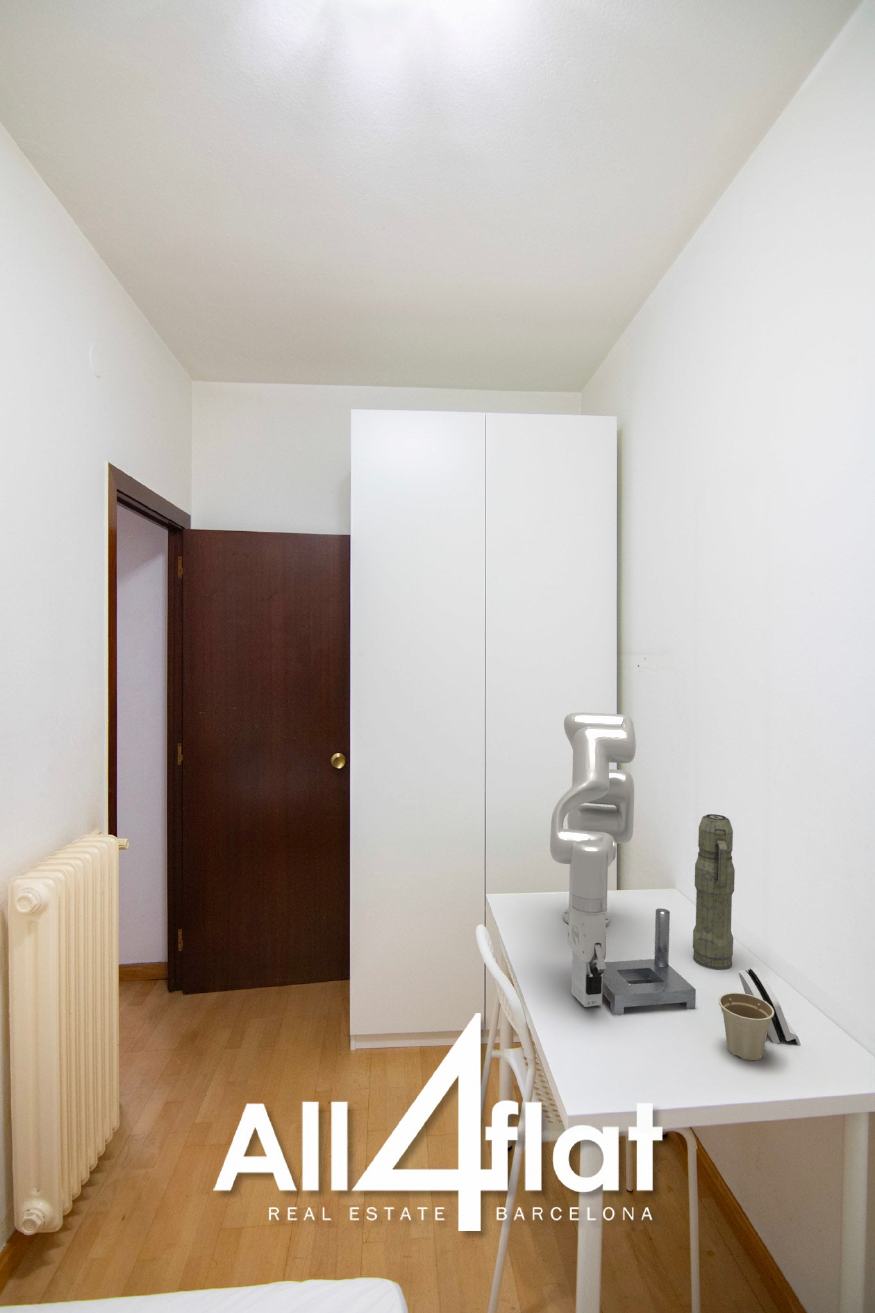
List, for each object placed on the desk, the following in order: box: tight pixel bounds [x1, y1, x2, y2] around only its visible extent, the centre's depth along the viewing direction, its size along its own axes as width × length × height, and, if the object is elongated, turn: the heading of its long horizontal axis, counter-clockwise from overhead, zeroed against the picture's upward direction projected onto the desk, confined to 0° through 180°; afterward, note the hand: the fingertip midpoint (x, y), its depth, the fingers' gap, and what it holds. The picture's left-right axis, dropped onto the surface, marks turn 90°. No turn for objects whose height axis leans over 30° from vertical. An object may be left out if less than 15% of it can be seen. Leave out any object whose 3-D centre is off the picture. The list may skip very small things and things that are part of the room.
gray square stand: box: [602, 907, 697, 1016], centre depth 145 cm, size 14×18×16 cm
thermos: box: [692, 813, 736, 971], centre depth 161 cm, size 9×12×35 cm
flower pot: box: [718, 992, 774, 1061], centre depth 125 cm, size 9×9×9 cm
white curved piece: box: [738, 967, 801, 1046], centre depth 136 cm, size 17×5×10 cm, turn 171°
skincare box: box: [571, 950, 603, 1008], centre depth 141 cm, size 6×4×12 cm
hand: (586, 984), depth 141 cm, fingers closed on skincare box, 6 cm apart
